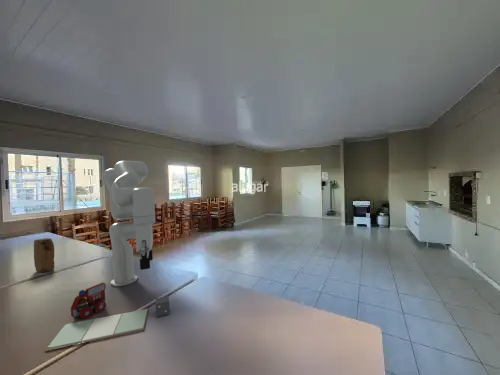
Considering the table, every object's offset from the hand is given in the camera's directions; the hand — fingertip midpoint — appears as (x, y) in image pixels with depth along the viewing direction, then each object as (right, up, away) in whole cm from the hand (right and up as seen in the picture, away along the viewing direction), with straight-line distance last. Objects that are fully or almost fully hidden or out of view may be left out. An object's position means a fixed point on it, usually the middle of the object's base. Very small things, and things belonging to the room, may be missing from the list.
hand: (146, 264), depth 89 cm
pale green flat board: (-13, -21, -6) cm, 25 cm away
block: (-89, -23, +57) cm, 108 cm away
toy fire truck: (-25, -21, +5) cm, 33 cm away
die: (+3, -17, +1) cm, 17 cm away
